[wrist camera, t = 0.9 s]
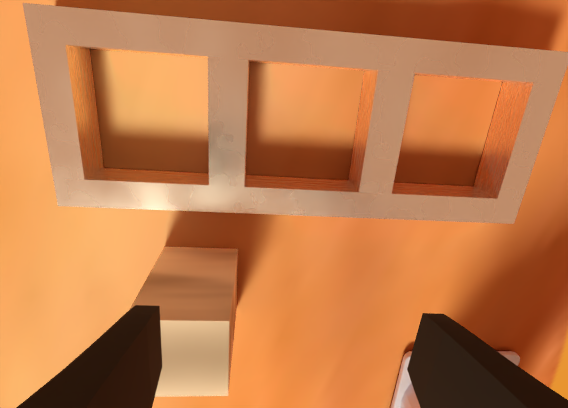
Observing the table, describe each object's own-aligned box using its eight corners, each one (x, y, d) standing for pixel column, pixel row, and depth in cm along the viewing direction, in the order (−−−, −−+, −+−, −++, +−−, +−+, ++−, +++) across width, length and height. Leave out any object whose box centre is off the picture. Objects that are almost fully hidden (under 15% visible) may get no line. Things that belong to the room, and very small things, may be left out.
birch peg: (236, 307, 20) (227, 395, 15) (168, 306, 20) (132, 396, 14) (238, 248, 19) (229, 321, 13) (164, 246, 19) (124, 319, 13)
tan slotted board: (489, 209, 19) (514, 223, 17) (79, 191, 17) (58, 205, 15) (535, 55, 16) (571, 52, 14) (53, 12, 14) (22, 2, 12)
